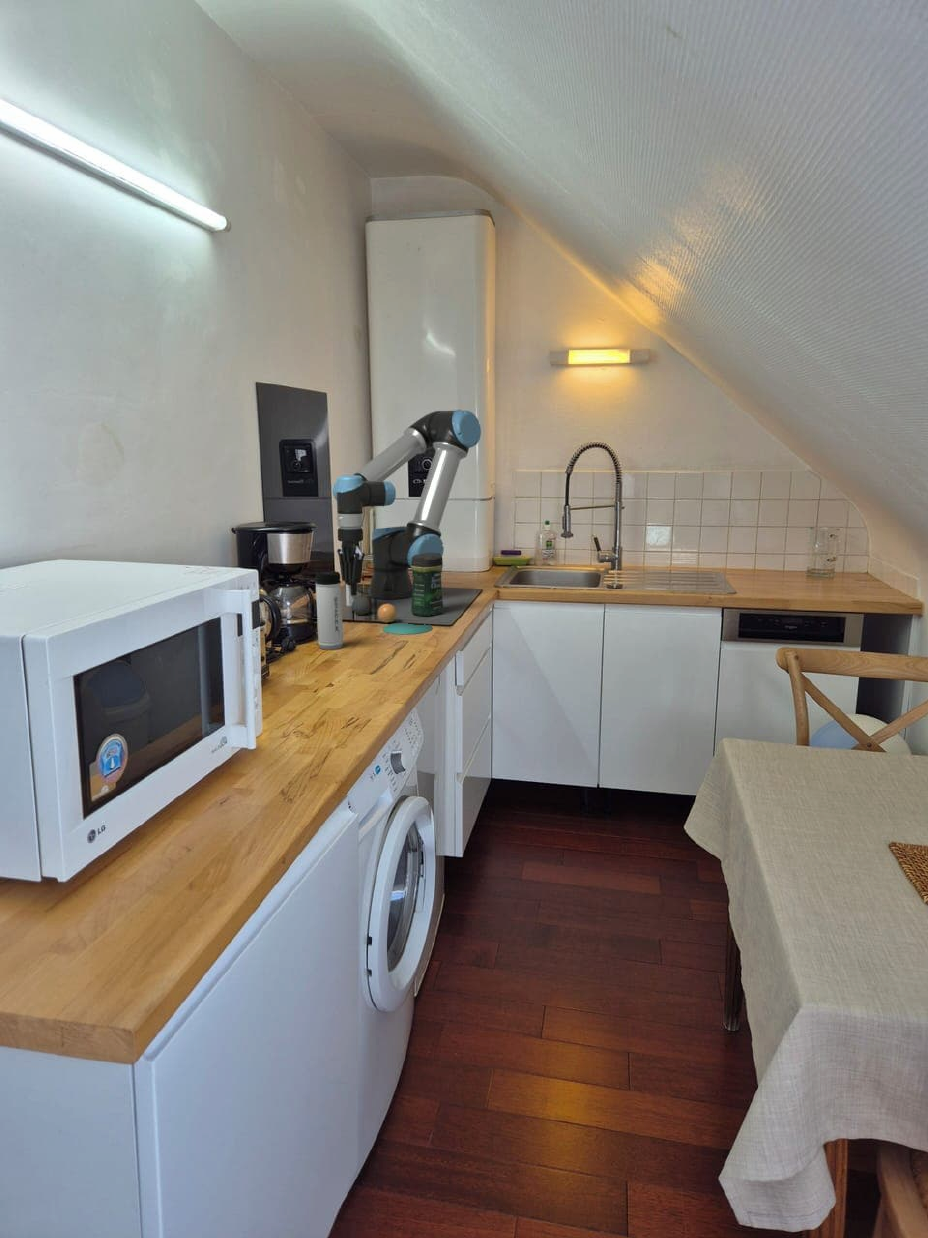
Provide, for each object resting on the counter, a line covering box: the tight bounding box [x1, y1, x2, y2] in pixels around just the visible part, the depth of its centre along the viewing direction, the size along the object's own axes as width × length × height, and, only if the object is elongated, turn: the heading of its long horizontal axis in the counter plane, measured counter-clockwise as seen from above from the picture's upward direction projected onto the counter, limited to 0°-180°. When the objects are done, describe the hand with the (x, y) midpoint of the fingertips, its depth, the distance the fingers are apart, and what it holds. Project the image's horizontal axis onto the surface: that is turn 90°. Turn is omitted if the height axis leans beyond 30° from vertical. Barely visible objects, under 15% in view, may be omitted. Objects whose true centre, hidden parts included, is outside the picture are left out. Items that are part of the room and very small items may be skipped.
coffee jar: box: [410, 553, 444, 617], centre depth 247 cm, size 10×8×19 cm
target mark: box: [381, 622, 433, 635], centre depth 231 cm, size 14×14×1 cm
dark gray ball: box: [351, 596, 371, 616], centre depth 248 cm, size 6×6×6 cm
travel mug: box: [313, 569, 344, 651], centre depth 209 cm, size 6×7×20 cm
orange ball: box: [377, 603, 398, 624], centre depth 238 cm, size 6×6×6 cm
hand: (351, 605), depth 251 cm, fingers closed
